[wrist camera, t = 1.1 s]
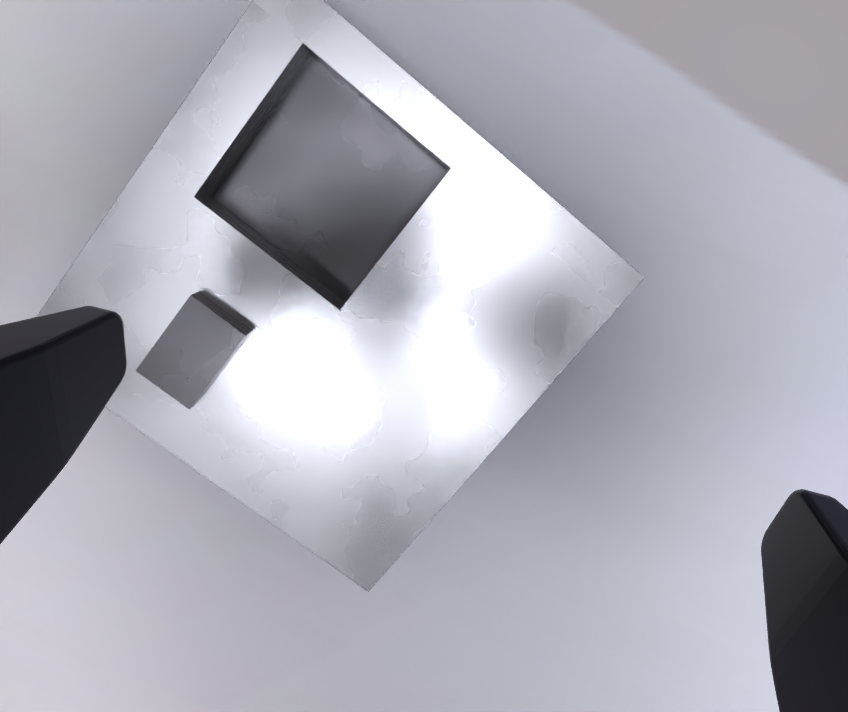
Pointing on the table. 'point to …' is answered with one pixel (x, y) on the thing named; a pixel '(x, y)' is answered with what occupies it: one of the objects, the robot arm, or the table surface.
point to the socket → (335, 288)
